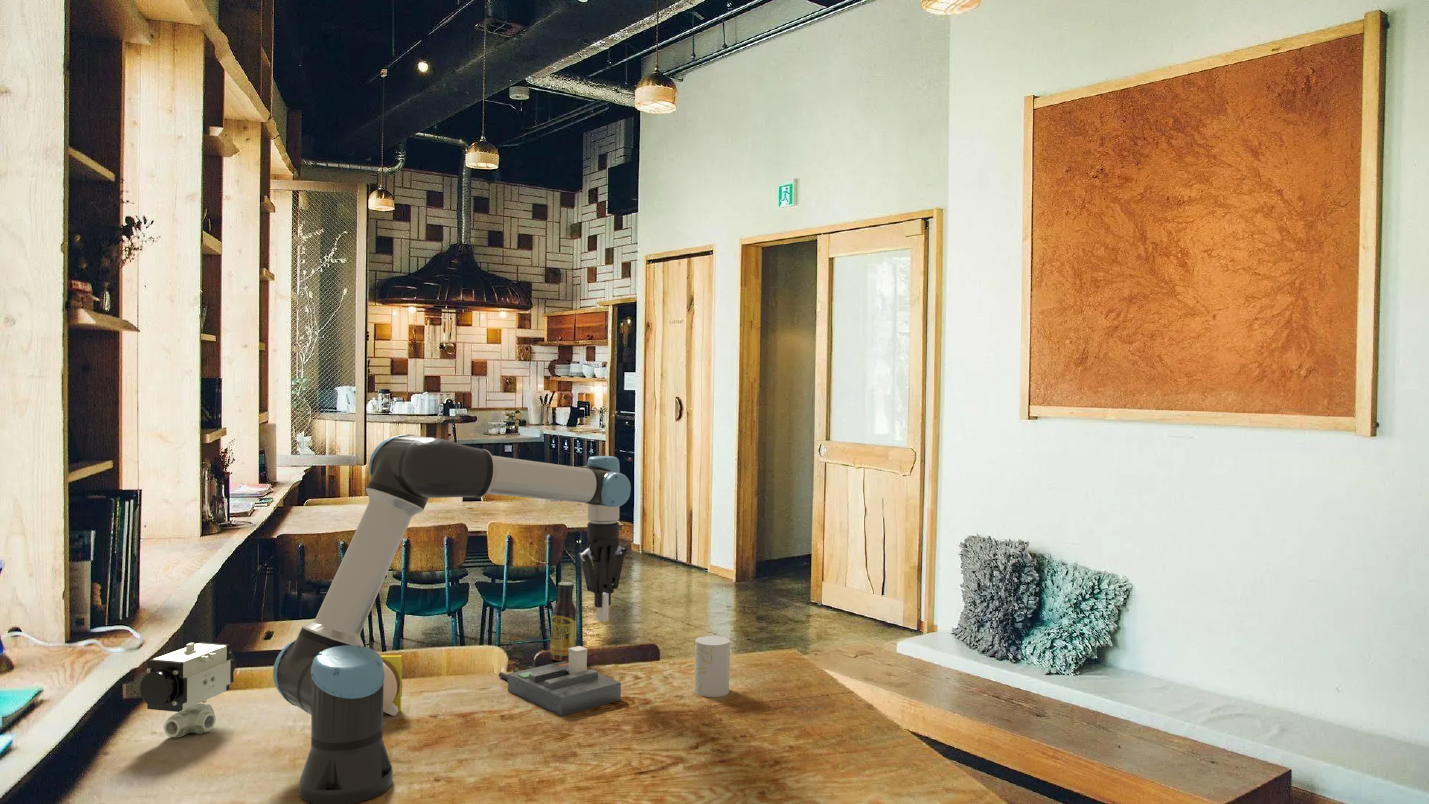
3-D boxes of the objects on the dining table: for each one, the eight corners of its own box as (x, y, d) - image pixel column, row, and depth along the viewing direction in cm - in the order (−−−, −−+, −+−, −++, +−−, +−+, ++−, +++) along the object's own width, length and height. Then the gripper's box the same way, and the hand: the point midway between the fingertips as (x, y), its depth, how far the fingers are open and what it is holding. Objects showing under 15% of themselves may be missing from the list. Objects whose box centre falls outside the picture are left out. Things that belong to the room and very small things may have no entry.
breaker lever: (587, 673, 212) (587, 648, 212) (575, 676, 210) (576, 651, 210) (579, 670, 215) (579, 645, 215) (567, 673, 213) (568, 648, 212)
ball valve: (175, 750, 175) (176, 658, 174) (137, 746, 176) (138, 654, 176) (242, 718, 192) (243, 634, 192) (207, 714, 194) (207, 631, 194)
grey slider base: (620, 700, 207) (620, 677, 207) (561, 716, 196) (561, 692, 196) (542, 667, 231) (543, 647, 231) (486, 680, 220) (486, 659, 220)
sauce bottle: (545, 661, 236) (547, 584, 236) (556, 654, 242) (558, 579, 242) (568, 663, 234) (570, 586, 234) (579, 657, 240) (580, 581, 240)
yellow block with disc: (334, 721, 192) (335, 664, 191) (347, 707, 200) (348, 652, 200) (393, 720, 192) (394, 663, 192) (403, 706, 201) (404, 652, 201)
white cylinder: (689, 688, 217) (689, 637, 216) (720, 684, 220) (720, 634, 220) (703, 698, 209) (704, 646, 209) (734, 694, 213) (735, 643, 213)
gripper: (615, 517, 224) (614, 612, 224) (571, 522, 215) (570, 621, 215) (634, 520, 218) (633, 618, 219) (590, 525, 210) (589, 628, 210)
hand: (602, 620), depth 217 cm, fingers closed
